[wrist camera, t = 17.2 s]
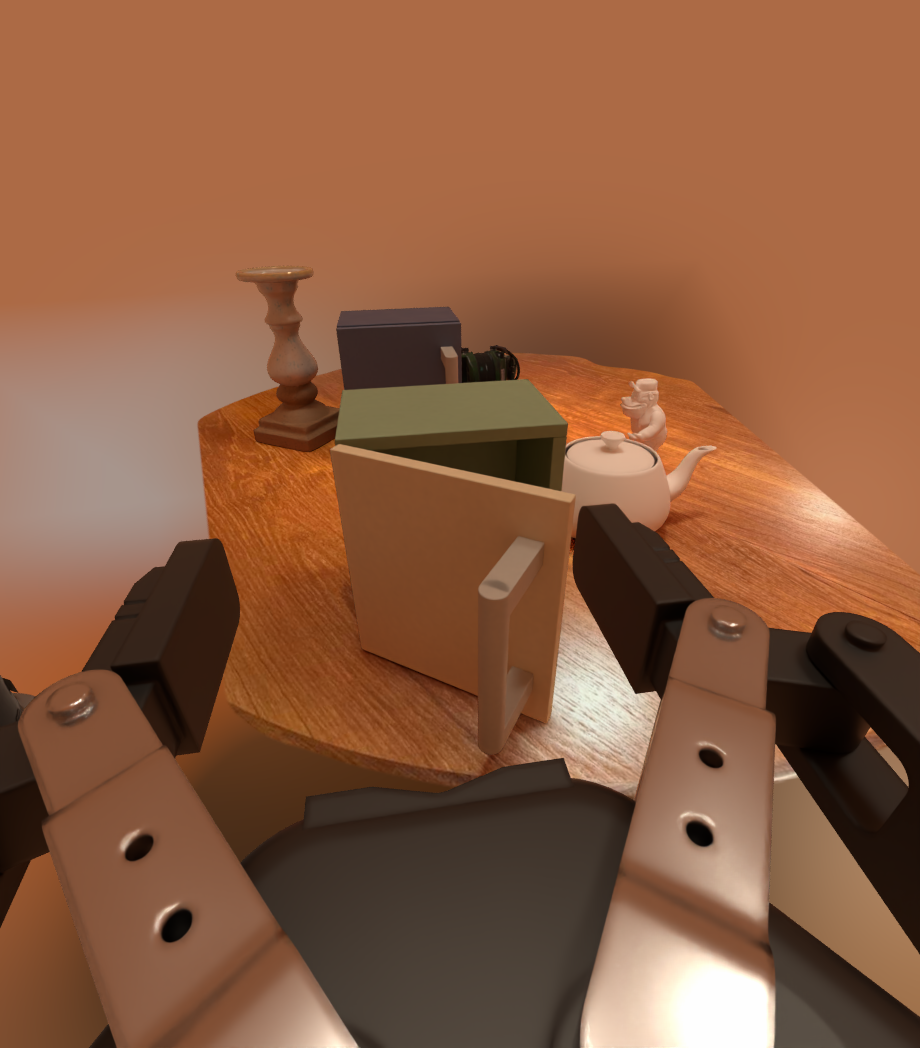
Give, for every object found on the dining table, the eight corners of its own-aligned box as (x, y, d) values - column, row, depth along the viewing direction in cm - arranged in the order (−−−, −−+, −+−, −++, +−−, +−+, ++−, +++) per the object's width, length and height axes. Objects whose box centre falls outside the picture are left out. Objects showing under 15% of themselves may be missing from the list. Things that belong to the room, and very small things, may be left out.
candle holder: (309, 452, 77) (277, 275, 65) (254, 441, 82) (213, 272, 69) (353, 427, 86) (331, 266, 73) (300, 418, 90) (272, 264, 77)
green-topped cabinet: (549, 619, 46) (568, 423, 36) (365, 640, 44) (334, 439, 34) (519, 549, 55) (528, 378, 46) (366, 564, 53) (342, 389, 44)
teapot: (525, 566, 52) (531, 469, 47) (499, 501, 64) (501, 416, 58) (732, 548, 54) (761, 452, 49) (671, 488, 66) (688, 405, 60)
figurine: (599, 455, 75) (611, 371, 69) (644, 453, 75) (659, 369, 69) (621, 484, 67) (636, 392, 61) (671, 481, 68) (691, 390, 61)
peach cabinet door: (514, 796, 32) (529, 560, 23) (313, 700, 38) (261, 486, 29) (551, 713, 37) (576, 494, 28) (368, 641, 44) (339, 443, 34)
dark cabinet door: (469, 465, 72) (468, 332, 63) (352, 474, 71) (333, 338, 61) (461, 446, 78) (459, 321, 69) (353, 454, 76) (336, 327, 67)
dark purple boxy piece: (461, 446, 78) (459, 320, 69) (353, 454, 77) (336, 325, 67) (452, 421, 88) (449, 306, 78) (355, 427, 86) (340, 311, 76)
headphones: (545, 371, 91) (510, 361, 109) (491, 317, 86) (464, 316, 104) (495, 430, 93) (469, 411, 111) (439, 381, 88) (421, 369, 106)
